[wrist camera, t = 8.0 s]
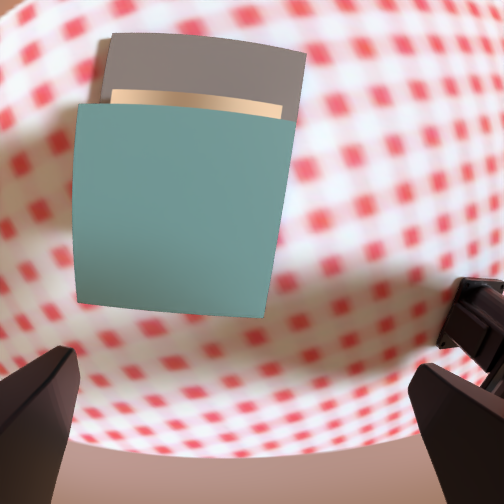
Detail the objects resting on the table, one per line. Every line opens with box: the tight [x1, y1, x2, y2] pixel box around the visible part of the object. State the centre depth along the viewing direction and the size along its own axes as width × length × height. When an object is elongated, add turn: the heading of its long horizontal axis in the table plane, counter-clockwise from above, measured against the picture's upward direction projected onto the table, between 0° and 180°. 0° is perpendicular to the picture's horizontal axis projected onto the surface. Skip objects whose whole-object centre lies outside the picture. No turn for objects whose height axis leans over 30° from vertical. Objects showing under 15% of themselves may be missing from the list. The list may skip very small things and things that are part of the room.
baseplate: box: [100, 33, 307, 135], centre depth 16 cm, size 10×14×1 cm
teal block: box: [72, 104, 296, 318], centre depth 10 cm, size 5×5×6 cm
